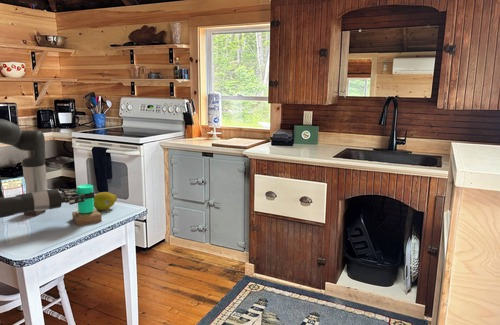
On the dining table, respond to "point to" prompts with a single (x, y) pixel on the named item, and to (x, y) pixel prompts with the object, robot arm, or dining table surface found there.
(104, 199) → the lemon
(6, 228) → the dining table surface
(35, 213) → the box
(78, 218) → the stand
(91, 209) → the candle
